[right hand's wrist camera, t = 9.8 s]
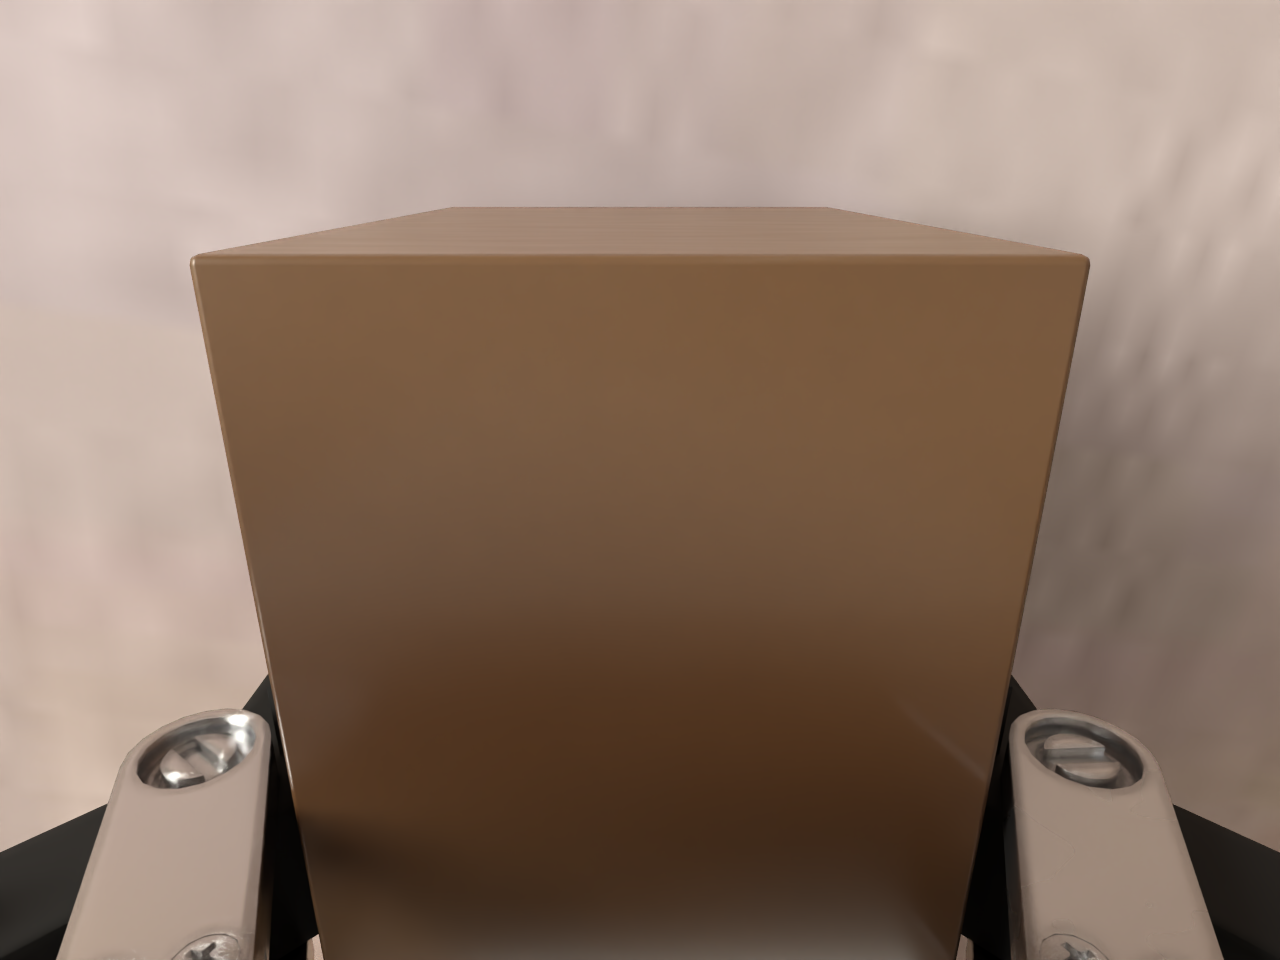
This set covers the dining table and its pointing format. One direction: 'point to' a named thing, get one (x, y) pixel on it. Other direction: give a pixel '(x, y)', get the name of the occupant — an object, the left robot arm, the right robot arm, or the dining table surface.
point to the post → (639, 568)
